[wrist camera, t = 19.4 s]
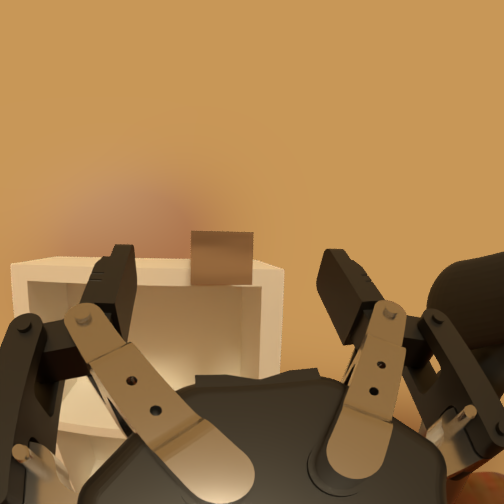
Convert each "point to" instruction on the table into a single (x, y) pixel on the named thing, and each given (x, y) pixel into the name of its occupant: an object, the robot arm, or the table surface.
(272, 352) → the off-white shelf
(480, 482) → the table surface
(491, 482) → the table surface
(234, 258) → the walnut bar
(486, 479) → the table surface
